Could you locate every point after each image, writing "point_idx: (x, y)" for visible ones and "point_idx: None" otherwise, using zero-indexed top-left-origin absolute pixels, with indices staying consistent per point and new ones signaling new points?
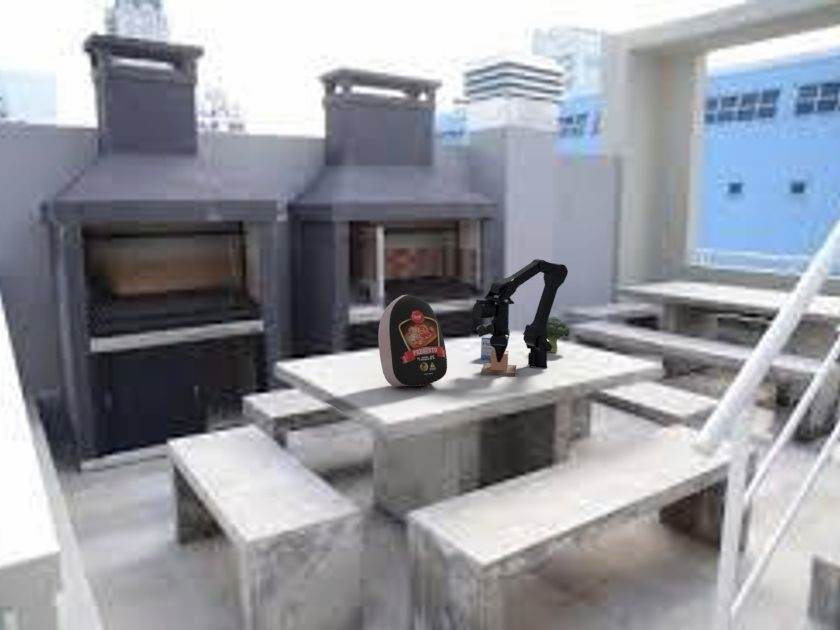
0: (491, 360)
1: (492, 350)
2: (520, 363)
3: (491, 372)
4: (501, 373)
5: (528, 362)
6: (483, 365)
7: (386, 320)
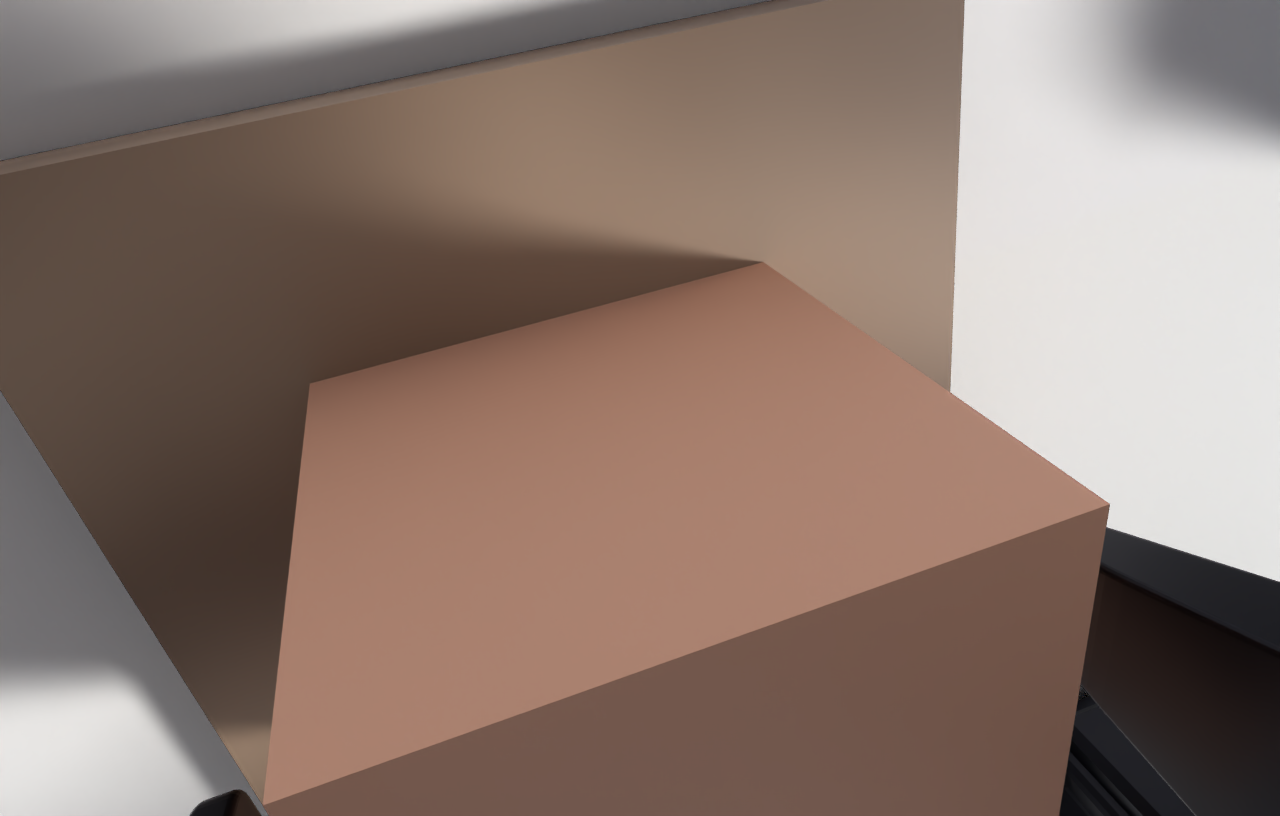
0: (307, 574)
1: (987, 575)
2: (1207, 546)
3: (74, 486)
4: (197, 679)
5: (1086, 746)
6: (734, 27)
7: None
